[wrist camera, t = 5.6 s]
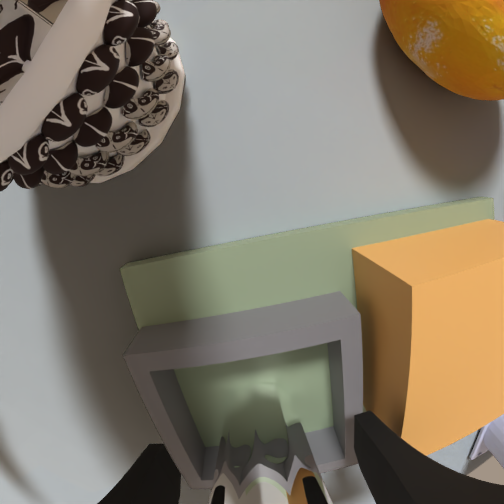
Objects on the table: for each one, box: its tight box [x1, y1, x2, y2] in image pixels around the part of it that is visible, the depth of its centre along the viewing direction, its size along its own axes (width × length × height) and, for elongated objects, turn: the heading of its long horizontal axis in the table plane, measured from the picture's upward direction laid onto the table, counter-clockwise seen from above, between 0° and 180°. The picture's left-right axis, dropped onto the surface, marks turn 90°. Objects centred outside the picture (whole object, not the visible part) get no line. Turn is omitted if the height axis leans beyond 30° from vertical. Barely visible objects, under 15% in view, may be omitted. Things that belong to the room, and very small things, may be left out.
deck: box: [120, 197, 504, 489], centre depth 12 cm, size 18×14×6 cm
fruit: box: [379, 0, 504, 101], centre depth 8 cm, size 8×8×8 cm
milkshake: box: [208, 383, 333, 504], centre depth 9 cm, size 4×5×10 cm
